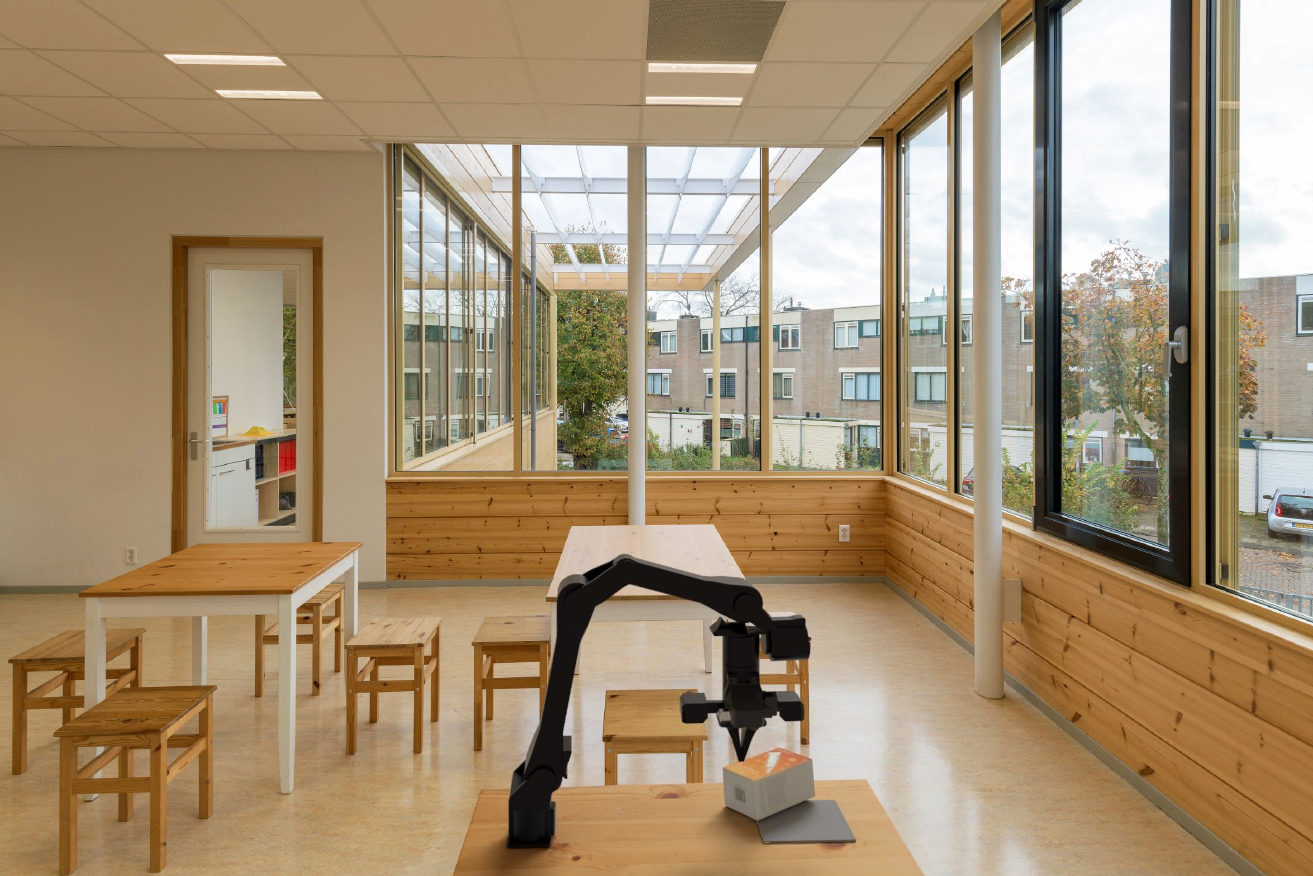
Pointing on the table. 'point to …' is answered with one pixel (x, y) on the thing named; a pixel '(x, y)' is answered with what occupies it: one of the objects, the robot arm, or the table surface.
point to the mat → (807, 824)
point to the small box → (768, 783)
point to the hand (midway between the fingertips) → (740, 761)
